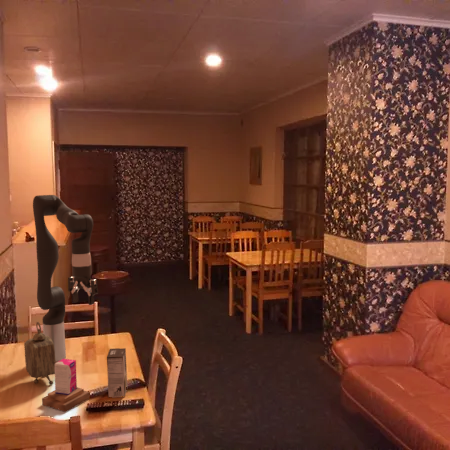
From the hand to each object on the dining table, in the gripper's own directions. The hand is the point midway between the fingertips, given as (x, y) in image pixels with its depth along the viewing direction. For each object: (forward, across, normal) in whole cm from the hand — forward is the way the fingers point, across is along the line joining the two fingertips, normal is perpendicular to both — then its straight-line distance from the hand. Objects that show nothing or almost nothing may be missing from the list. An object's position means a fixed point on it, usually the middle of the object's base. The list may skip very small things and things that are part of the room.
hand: (83, 303), depth 205 cm
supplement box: (+28, +8, -19) cm, 35 cm away
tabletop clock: (+32, -15, -11) cm, 37 cm away
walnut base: (+32, +8, -19) cm, 38 cm away
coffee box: (+32, +20, -4) cm, 38 cm away
